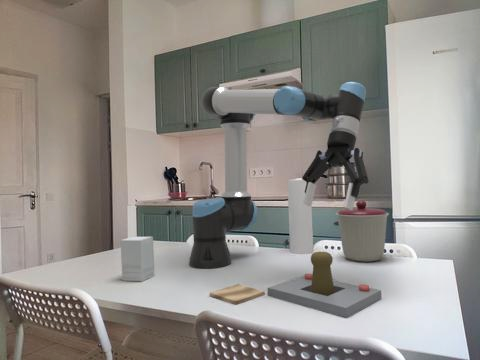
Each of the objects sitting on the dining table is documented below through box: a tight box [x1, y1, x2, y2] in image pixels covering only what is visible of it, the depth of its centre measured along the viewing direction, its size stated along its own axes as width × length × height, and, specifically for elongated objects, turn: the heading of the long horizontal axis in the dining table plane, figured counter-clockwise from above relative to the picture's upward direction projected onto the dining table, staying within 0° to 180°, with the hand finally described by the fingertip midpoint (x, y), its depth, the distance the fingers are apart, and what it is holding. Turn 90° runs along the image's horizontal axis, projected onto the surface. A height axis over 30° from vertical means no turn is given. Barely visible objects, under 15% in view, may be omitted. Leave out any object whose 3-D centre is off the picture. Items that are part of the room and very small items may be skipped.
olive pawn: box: [310, 251, 335, 296], centre depth 86 cm, size 6×6×11 cm
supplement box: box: [120, 236, 155, 282], centre depth 110 cm, size 7×7×13 cm
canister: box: [335, 200, 390, 263], centre depth 126 cm, size 18×18×21 cm
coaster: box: [209, 283, 266, 306], centre depth 89 cm, size 10×10×1 cm
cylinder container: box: [287, 177, 314, 255], centre depth 144 cm, size 9×9×30 cm
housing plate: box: [266, 273, 382, 319], centre depth 86 cm, size 22×16×3 cm
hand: (326, 206), depth 95 cm, fingers open, 13 cm apart
